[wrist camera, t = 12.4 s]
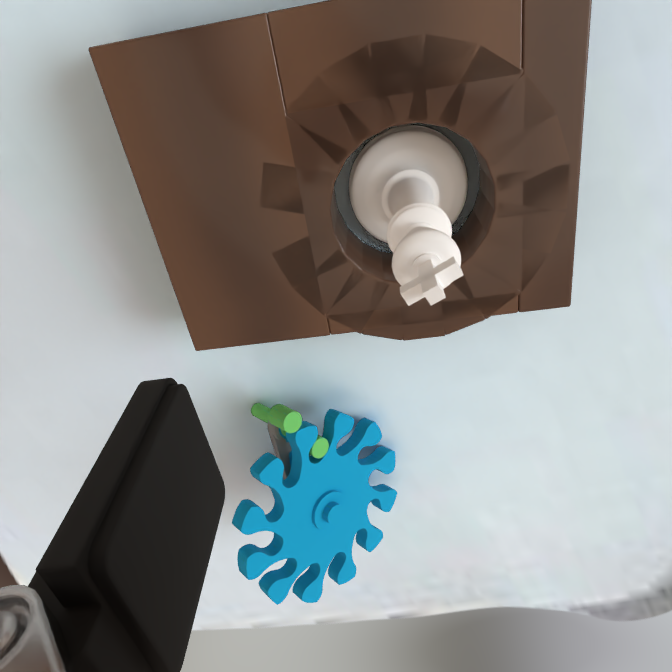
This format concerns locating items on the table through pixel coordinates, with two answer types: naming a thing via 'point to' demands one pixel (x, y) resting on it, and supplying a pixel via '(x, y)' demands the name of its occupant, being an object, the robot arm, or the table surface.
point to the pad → (337, 145)
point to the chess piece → (412, 205)
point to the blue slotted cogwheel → (313, 501)
